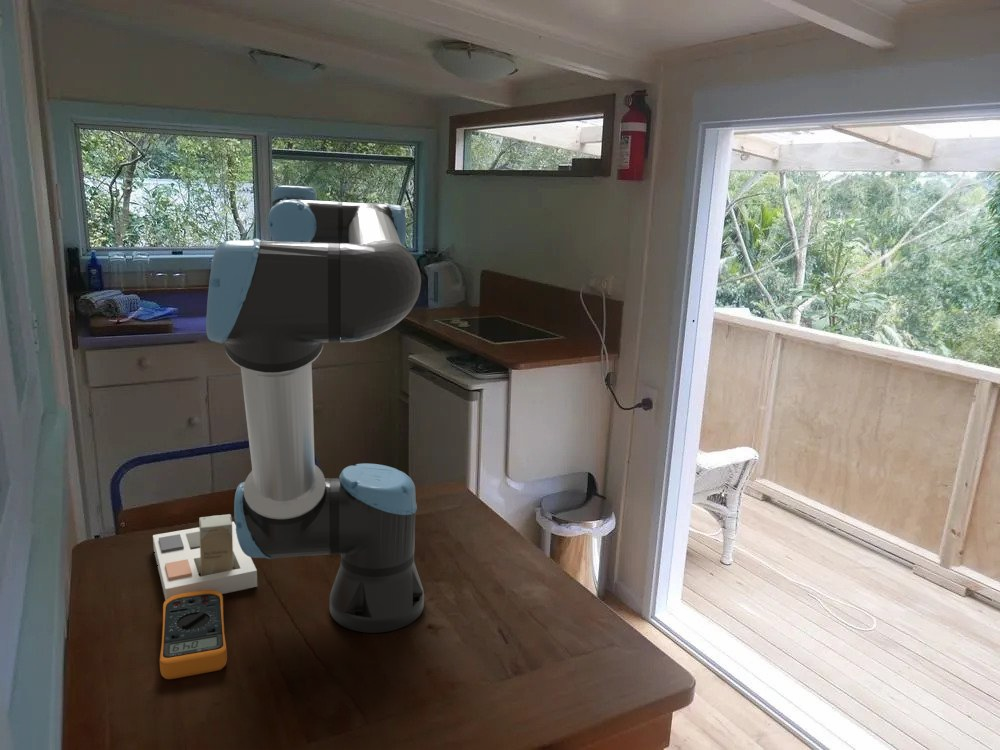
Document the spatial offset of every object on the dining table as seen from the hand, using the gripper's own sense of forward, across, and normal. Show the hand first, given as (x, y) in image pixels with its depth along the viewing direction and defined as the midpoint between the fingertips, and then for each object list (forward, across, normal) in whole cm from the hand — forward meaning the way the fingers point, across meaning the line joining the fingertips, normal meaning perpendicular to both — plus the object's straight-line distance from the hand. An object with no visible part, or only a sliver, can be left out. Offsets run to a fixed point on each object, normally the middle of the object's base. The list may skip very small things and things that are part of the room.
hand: (298, 400), depth 138 cm
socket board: (+26, +8, -19) cm, 34 cm away
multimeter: (+27, +29, -23) cm, 46 cm away
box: (+27, +13, -18) cm, 34 cm away
